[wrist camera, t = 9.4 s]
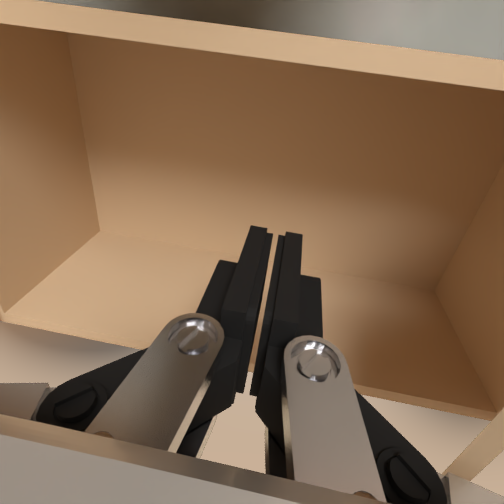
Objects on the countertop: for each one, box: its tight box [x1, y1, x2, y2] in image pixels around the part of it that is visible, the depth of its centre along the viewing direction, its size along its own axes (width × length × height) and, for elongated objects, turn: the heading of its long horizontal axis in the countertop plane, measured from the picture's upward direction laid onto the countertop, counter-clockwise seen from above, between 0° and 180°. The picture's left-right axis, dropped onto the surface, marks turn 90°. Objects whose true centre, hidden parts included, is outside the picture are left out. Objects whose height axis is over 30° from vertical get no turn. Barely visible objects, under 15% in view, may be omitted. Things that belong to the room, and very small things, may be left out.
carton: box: [0, 0, 504, 421], centre depth 15 cm, size 24×13×9 cm, turn 83°
